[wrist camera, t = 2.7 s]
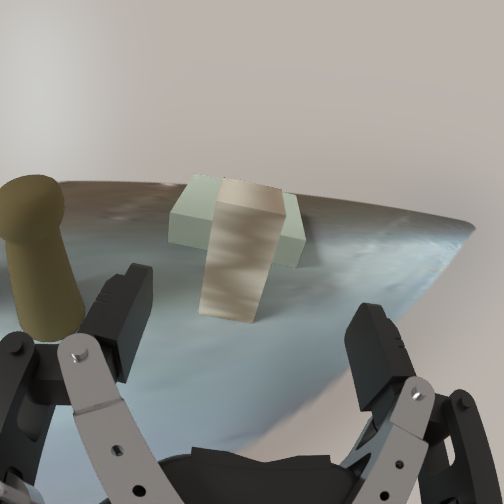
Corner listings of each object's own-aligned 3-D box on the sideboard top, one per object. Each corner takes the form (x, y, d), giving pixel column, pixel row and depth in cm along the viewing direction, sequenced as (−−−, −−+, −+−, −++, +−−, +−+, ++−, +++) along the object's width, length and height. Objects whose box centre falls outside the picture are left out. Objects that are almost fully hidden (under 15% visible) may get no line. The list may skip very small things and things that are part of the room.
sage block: (167, 245, 32) (170, 212, 30) (190, 200, 42) (194, 173, 40) (295, 271, 33) (306, 240, 31) (288, 220, 43) (295, 195, 41)
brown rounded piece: (69, 279, 23) (57, 159, 17) (97, 324, 20) (81, 187, 15) (12, 301, 19) (-19, 178, 13) (30, 353, 16) (-17, 215, 10)
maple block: (198, 313, 24) (216, 200, 19) (205, 279, 28) (223, 177, 23) (252, 323, 25) (286, 215, 19) (253, 288, 28) (281, 189, 23)
